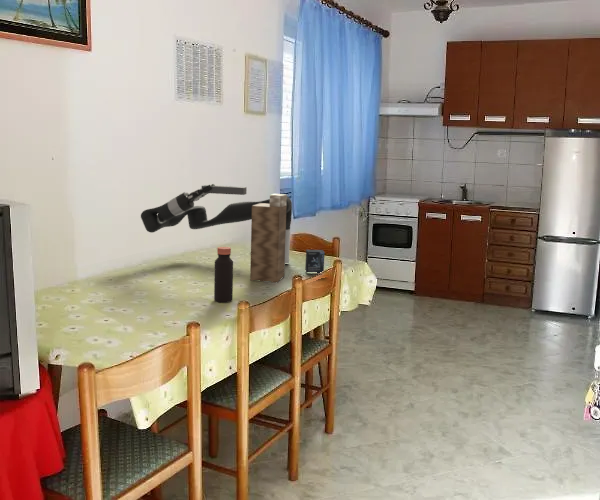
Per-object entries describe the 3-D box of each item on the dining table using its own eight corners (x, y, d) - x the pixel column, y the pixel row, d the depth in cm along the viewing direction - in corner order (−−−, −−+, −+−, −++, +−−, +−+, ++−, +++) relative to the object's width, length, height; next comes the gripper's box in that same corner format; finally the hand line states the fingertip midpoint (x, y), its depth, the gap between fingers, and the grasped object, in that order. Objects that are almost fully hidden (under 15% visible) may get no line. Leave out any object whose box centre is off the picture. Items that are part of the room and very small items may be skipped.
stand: (250, 280, 273) (252, 194, 266) (258, 274, 284) (260, 192, 278) (278, 282, 270) (281, 196, 264) (285, 276, 282) (287, 193, 275)
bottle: (229, 303, 235) (230, 250, 231) (211, 301, 236) (212, 248, 232) (234, 299, 241) (235, 246, 238) (217, 297, 242) (218, 245, 239)
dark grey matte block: (201, 192, 275) (201, 185, 275) (204, 192, 279) (204, 185, 279) (243, 194, 271) (243, 187, 271) (246, 194, 275) (246, 187, 275)
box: (306, 274, 288) (307, 251, 286) (304, 272, 294) (305, 249, 292) (323, 274, 289) (324, 251, 288) (321, 272, 295) (322, 249, 293)
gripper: (170, 197, 274) (202, 179, 269) (183, 195, 287) (214, 177, 283) (178, 213, 274) (211, 195, 269) (190, 210, 288) (222, 192, 283)
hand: (212, 186), depth 276 cm, fingers closed on dark grey matte block, 4 cm apart
